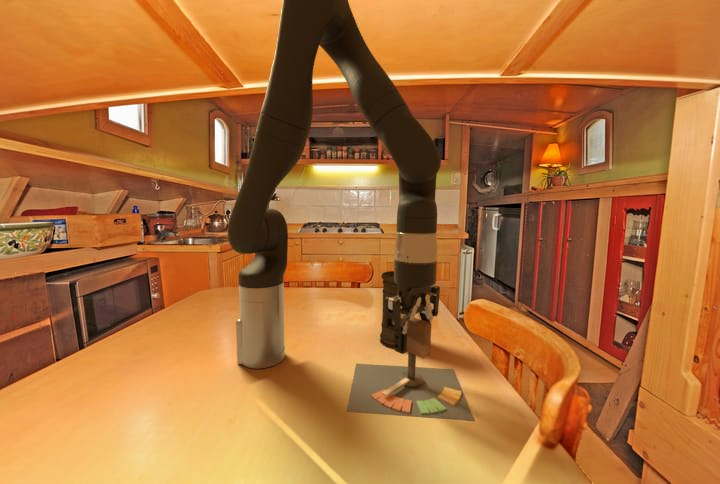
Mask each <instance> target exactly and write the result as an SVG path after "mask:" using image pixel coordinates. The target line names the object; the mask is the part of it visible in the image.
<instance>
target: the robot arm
mask: <svg viewBox="0 0 720 484" xmlns="http://www.w3.org/2000/svg"><path fill="white" fill-rule="evenodd" d="M319 47H321V48H322V50H323V51H324V52H325V53H326V54H327V55H328V57H330V58H331V60H332V61H333V63H335V65H336V66H337V68H338V69H339V71H340V72H341V74H342V76H343V78H344V79H345V81H346V84H347V86H348V88H349V90H350V92H351V94H352V97H353V98H354V101H355V104H356V105H357V107H358V109H359V110H360V112H361V115H363V117H364V118H365V120H366V122H367V123H368V125H369V126H370V128H371V129H372V131H373V132H374V134H375V135H376V136H377V138H378V139H379V140H380V142H382V143H383V144H384V146H385V148H386V150H387V152H388V153H389V155H390V156H391V158H392V160H393V161H394V163H395V165H396V167H397V169H398V204H397V211H396V213H397V214H396V236H395V241H394V262H393V264H394V265H393V266H394V269H393V271H394V281H395V283H396V284H397V285H398V292H397V296H395V297H389V296H387V297H386V298H385V328H386V330H389V331H392V332H394V349H393V350H394V351H395V352H396V353H399V354H401V355H404V354H406V353H407V333H406V332H407V329H408V327H409V324H410V322H412V321H413V320H414V318H416V317H415V316H416V315H417V316H418V319H420V320H424V321H427V322H430V323H432V322H433V321H434V317H438V315H439V307H440V305H439V304H440V294H441V293H440V290H441V287H440V286H439V285H436V283H437V272H438V271H437V270H438V269H437V267H438V238H437V236H438V235H437V230H438V228H437V227H438V206H437V202H436V192H437V191H436V190H437V189H436V188H437V176H438V175H437V174H438V173H439V171H440V169H441V166H442V156H441V152H440V150H439V148H438V146H437V145H436V143H435V141H434V140H433V138H432V137H431V136H430V134H429V133H428V131H426V129H425V128H424V126H423V125H421V124H420V122H419V121H418V120H417V118H415V117H414V115H413V113H412V111H411V109H410V108H409V106H408V104H407V103H406V101H405V100H404V98H403V96H402V95H401V93H400V91H399V90H398V88H397V87H396V85H395V84H394V82H393V81H392V79H391V77H390V76H389V75H388V74H387V72H386V71H385V70H384V68H383V67H382V66H381V64H380V62H378V61H377V59H376V58H375V56H374V54H373V53H372V51H371V50H370V48H369V46H368V45H367V43H366V41H365V39H364V37H363V35H362V32H361V31H360V29H359V26H358V23H357V21H356V19H355V17H354V14H353V12H352V8H351V6H350V2H349V0H282V4H281V12H280V19H279V25H278V32H277V40H276V46H275V50H274V57H273V61H272V65H271V69H270V73H269V74H270V75H269V78H268V82H267V87H266V91H265V97H264V99H263V103H262V106H261V110H260V114H259V118H258V121H257V125H256V129H255V135H254V140H253V144H252V148H251V151H250V154H249V155H250V156H249V159H248V163H247V167H246V170H245V172H244V173H245V174H244V177H243V180H242V183H241V186H240V189H239V190H238V194H237V197H236V200H235V202H234V204H233V207H232V210H231V213H230V217H229V221H228V224H227V225H228V226H227V237H228V238H227V239H228V243H229V245H230V247H231V249H232V250H233V251H234V252H236V253H237V254H244V255H248V254H249V255H251V254H254V257H253V259H252V260H251V262H250V263H249V264H247V265H246V266H244V268H242V269H240V271H239V273H238V297H239V298H238V299H239V301H238V302H239V304H238V305H239V318H238V319H237V320H235V321H236V322H235V331H236V333H235V334H236V335H235V336H236V337H235V338H236V363H237V364H240V365H242V366H243V367H246V368H249V369H254V370H255V369H266V368H269V367H273V366H276V365H277V364H279V363H281V362H282V361H283V360H284V359H285V355H286V354H285V353H286V352H285V351H286V347H285V345H286V344H285V343H286V342H285V295H284V294H285V291H284V290H285V289H284V286H285V285H284V284H285V283H284V278H285V277H284V276H285V273H286V270H287V266H288V249H289V247H288V246H289V232H288V231H289V230H288V224H287V220H286V219H285V217H284V215H283V213H282V212H281V211H279V210H277V209H275V208H268V207H269V203H270V201H271V198H272V196H273V194H274V192H275V190H276V189H277V188H278V186H279V185H280V184H281V182H282V181H283V180H284V179H285V178H286V177H287V176H288V174H289V173H290V172H291V171H292V170H293V169H294V167H295V166H296V165H297V163H298V162H299V161H300V159H301V157H302V155H303V152H304V151H305V148H306V144H307V141H308V138H309V134H310V130H311V126H312V122H313V116H314V115H313V111H314V98H313V97H314V95H313V91H314V90H313V77H314V75H313V74H314V66H315V61H316V58H317V57H316V56H317V54H318V50H319ZM431 304H432V305H433V306H432V305H431ZM402 310H403V312H404V313H408V315H403V314H401V312H402ZM392 319H393V320H394V322H393V324H392ZM401 319H403V320H404V322H403V325H402V326H401Z"/></svg>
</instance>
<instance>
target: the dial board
mask: <svg viewBox="0 0 720 484" xmlns="http://www.w3.org/2000/svg"><path fill="white" fill-rule="evenodd" d="M404 372H408V366H404V365H403V366H402V365H386V364H372V363H370V364H369V363H355V367H354V372H353V378H352V383H351V387H350V393H349V398H348V403H347V406H346V407H347V408H346V413H360V414H361V413H362V414H374V415H388V416H389V415H391V416H399V417H400V416H401V417H402V416H403V417H413V418H414V417H415V418H428V419H442V420H443V419H444V420H445V419H446V420H455V421H456V420H458V421H467V422H470V421H471V422H475V418H474V416H473V413H472V411H471V409H470V406H469V403H468V401H467V399H466V396H465V393H464V392H463V389H462V387H461V383H460V381H459V379H458V376H457V374H456V371H455V369H454V368H441V367H440V368H437V367H433V368H432V367H424V366H423V367H420V366H416V367H415V373H418V374H420V375H421V376H422V377H423V384H422V385H421V386H419V387H408V386H403V387H402V388H400V389H399V390H397V391H396V392H394V393H393V394H391V395H390V396H388V397H387V398H386V397H384V396H383V395H382V392H384V391H386V390H387V389H389V388H390V387H392V386H393V385H395V384H396V383H398V382H400V375H401V374H402V373H404Z"/></svg>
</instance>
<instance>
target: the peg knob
mask: <svg viewBox="0 0 720 484" xmlns="http://www.w3.org/2000/svg"><path fill="white" fill-rule="evenodd" d="M403 315H405V314H403ZM403 322H404V320H403V319H401V326H402V325H403ZM406 333H407V351H406V353H408V354H407V355H408V356H407V367H408V372H404V373H402V374H401V375H400V382H398V383H396V384H395V385H393V386H392V387H390V388H389V389H387V390H386V391H384V392H382V395H383V396H384V397H386V398H387V397H388V396H390V395H391V394H393V393H394V392H396V391H397V390H399V389H400V388H402V387H403V386H408V387H419V386H421V385H422V384H423V377H422V376H421V375H420V374H418V373H415V367H417V366H416V365H417V363H416V361H417V357H418V358H421V359H426V358H428V357H429V356H431V342H432V341H431V339H432V322H427V321H424V320H420V318H417V317H414V320H413V321H412V322H410V324H409V327H408V329H407V332H406Z"/></svg>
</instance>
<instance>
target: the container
mask: <svg viewBox="0 0 720 484" xmlns="http://www.w3.org/2000/svg"><path fill="white" fill-rule="evenodd" d="M380 278H381V279H382V285H383V286H382V316H381V317H382V319H381V324H380V325H381V333H380V334H379V338H380V339H379V342H380V344H381V345H382V346H383V347H385V348H388V349H391V350H395V349H394V332H392V331H389V330H386V328H385V298H386V297H387V296H389V297H395V296H397V292H398V285H397V284H396V283H395V281H394V270H389V271H385V272H382V273H381V277H380ZM401 314H405V315H408V313H404V312H403V310H402V312H401ZM393 322H394V320H393V319H392V324H393Z"/></svg>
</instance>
